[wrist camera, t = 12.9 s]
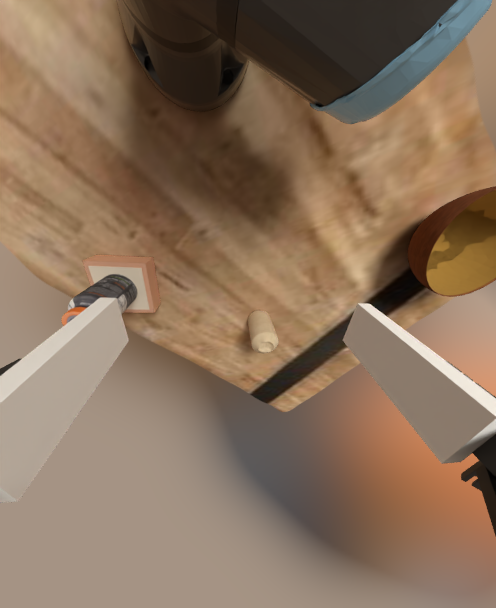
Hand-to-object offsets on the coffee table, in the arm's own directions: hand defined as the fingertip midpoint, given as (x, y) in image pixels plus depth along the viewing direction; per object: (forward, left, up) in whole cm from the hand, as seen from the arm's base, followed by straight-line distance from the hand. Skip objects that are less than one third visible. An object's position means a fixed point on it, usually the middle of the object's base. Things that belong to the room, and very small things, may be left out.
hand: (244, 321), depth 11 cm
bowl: (-2, +40, -29) cm, 49 cm away
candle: (+19, +7, -29) cm, 35 cm away
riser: (+10, -20, -29) cm, 36 cm away
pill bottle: (+10, -20, -25) cm, 33 cm away
